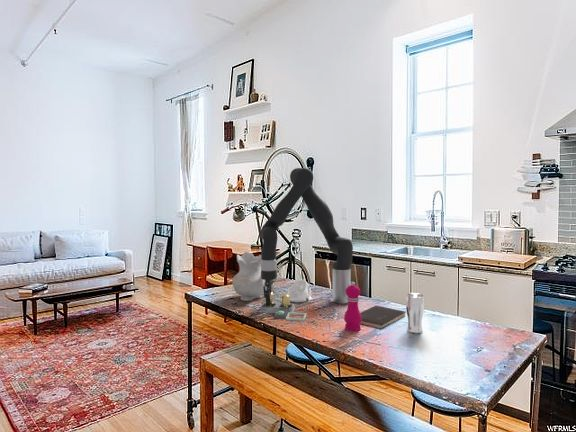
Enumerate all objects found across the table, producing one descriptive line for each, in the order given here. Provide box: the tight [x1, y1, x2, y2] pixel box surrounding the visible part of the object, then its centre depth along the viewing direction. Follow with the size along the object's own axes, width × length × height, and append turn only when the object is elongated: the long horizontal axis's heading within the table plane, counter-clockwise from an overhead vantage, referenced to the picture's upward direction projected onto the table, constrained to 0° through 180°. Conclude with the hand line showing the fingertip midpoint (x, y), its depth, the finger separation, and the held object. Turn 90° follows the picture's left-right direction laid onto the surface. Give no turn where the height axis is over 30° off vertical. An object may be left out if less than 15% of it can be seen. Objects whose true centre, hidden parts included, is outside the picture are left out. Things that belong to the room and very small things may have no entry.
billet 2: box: [280, 293, 291, 308], centre depth 190 cm, size 4×4×7 cm
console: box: [273, 312, 288, 320], centre depth 181 cm, size 5×5×2 cm
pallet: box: [258, 302, 297, 314], centre depth 191 cm, size 16×10×3 cm, turn 81°
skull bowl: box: [286, 278, 313, 303], centre depth 209 cm, size 10×14×12 cm
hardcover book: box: [359, 305, 407, 329], centre depth 182 cm, size 16×23×2 cm
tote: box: [285, 312, 307, 322], centre depth 180 cm, size 8×8×2 cm
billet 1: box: [264, 292, 274, 307], centre depth 192 cm, size 4×4×7 cm
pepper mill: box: [343, 281, 362, 332], centre depth 167 cm, size 7×7×20 cm
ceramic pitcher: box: [231, 251, 265, 302], centre depth 214 cm, size 22×20×25 cm
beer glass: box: [405, 292, 425, 334], centre depth 164 cm, size 7×7×15 cm
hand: (269, 304), depth 192 cm, fingers closed on billet 1, 4 cm apart
